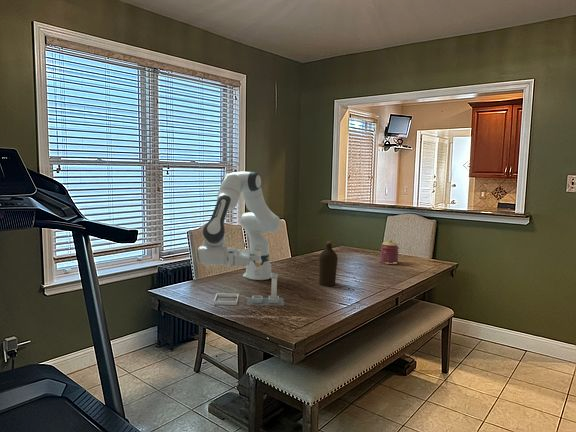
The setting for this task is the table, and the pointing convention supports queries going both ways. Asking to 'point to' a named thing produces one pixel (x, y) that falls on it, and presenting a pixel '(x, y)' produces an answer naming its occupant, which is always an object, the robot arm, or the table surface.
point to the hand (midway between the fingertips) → (259, 257)
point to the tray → (226, 301)
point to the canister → (389, 252)
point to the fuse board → (264, 300)
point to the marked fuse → (258, 261)
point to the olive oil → (327, 266)
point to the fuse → (274, 285)
